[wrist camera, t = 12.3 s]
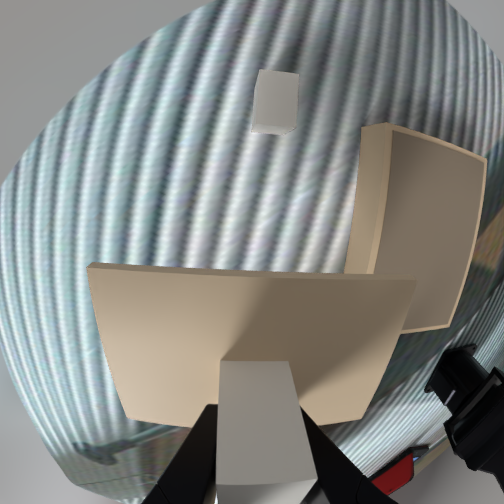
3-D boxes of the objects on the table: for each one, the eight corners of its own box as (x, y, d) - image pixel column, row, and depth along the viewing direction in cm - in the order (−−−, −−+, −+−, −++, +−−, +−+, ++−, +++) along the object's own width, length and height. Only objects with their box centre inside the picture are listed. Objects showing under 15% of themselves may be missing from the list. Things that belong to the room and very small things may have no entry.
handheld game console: (385, 477, 36) (395, 502, 29) (350, 481, 34) (359, 511, 27) (429, 444, 33) (443, 470, 26) (398, 446, 31) (413, 478, 24)
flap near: (410, 274, 7) (506, 355, 3) (358, 412, 10) (392, 493, 5) (92, 262, 7) (-6, 356, 3) (129, 411, 9) (103, 500, 5)
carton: (459, 156, 17) (488, 159, 14) (428, 308, 21) (449, 327, 18) (361, 126, 16) (386, 122, 13) (335, 313, 21) (350, 339, 17)
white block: (338, 99, 16) (365, 84, 12) (331, 189, 18) (357, 197, 14) (197, 85, 15) (186, 64, 11) (190, 178, 17) (176, 184, 13)
